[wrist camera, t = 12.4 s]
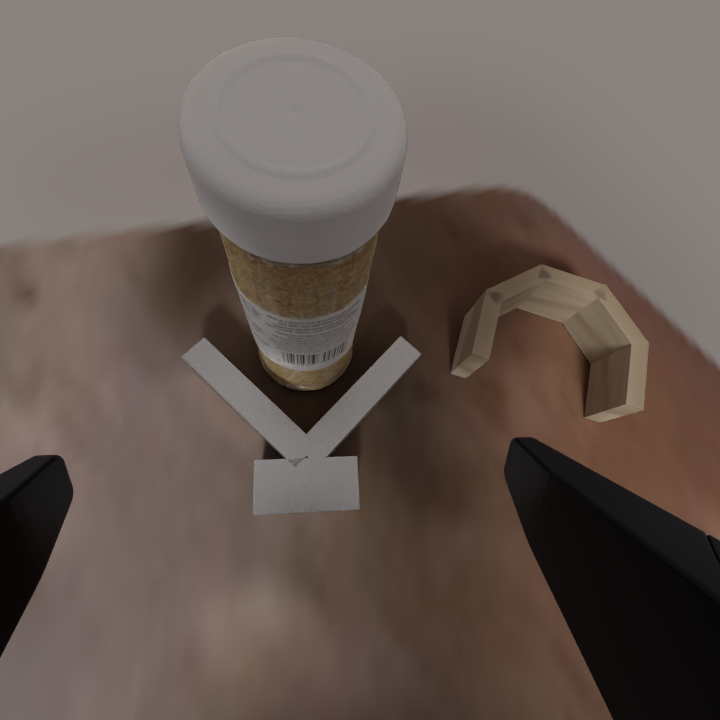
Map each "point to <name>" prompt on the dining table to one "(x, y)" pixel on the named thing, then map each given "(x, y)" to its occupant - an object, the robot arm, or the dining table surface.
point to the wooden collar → (584, 323)
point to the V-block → (303, 451)
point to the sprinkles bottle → (296, 191)
